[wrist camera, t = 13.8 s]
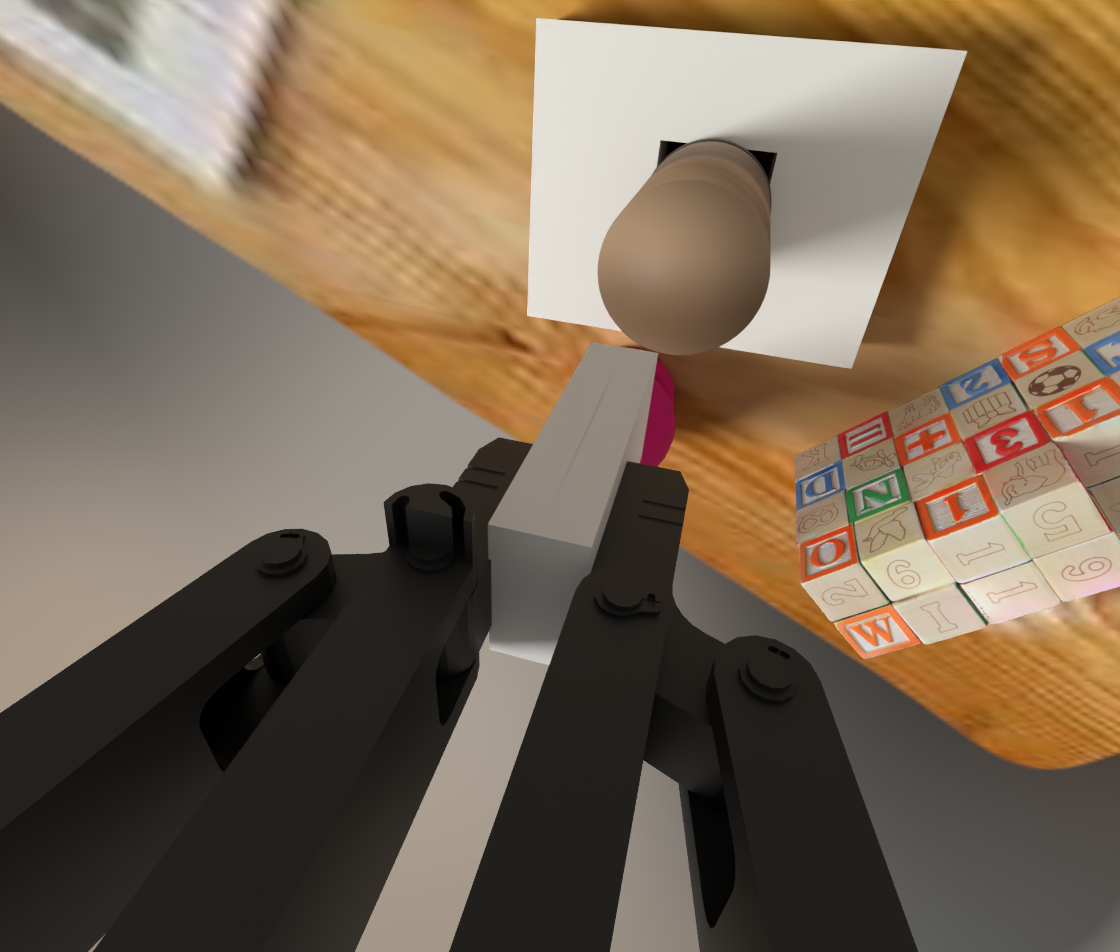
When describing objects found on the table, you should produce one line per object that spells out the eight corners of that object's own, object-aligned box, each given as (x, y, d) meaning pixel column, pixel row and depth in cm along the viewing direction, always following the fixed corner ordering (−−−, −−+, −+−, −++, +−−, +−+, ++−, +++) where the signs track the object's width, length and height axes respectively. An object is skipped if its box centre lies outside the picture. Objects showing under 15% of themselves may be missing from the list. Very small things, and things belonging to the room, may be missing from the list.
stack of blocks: (1208, 247, 30) (1421, 353, 20) (1253, 349, 31) (1471, 492, 22) (791, 456, 41) (797, 586, 32) (841, 521, 43) (862, 665, 33)
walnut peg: (662, 123, 32) (605, 171, 21) (785, 136, 31) (794, 193, 20) (645, 246, 36) (589, 342, 25) (755, 261, 35) (748, 369, 23)
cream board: (557, 19, 31) (536, 18, 28) (948, 48, 28) (967, 50, 25) (544, 295, 39) (527, 315, 37) (845, 343, 36) (851, 368, 33)
